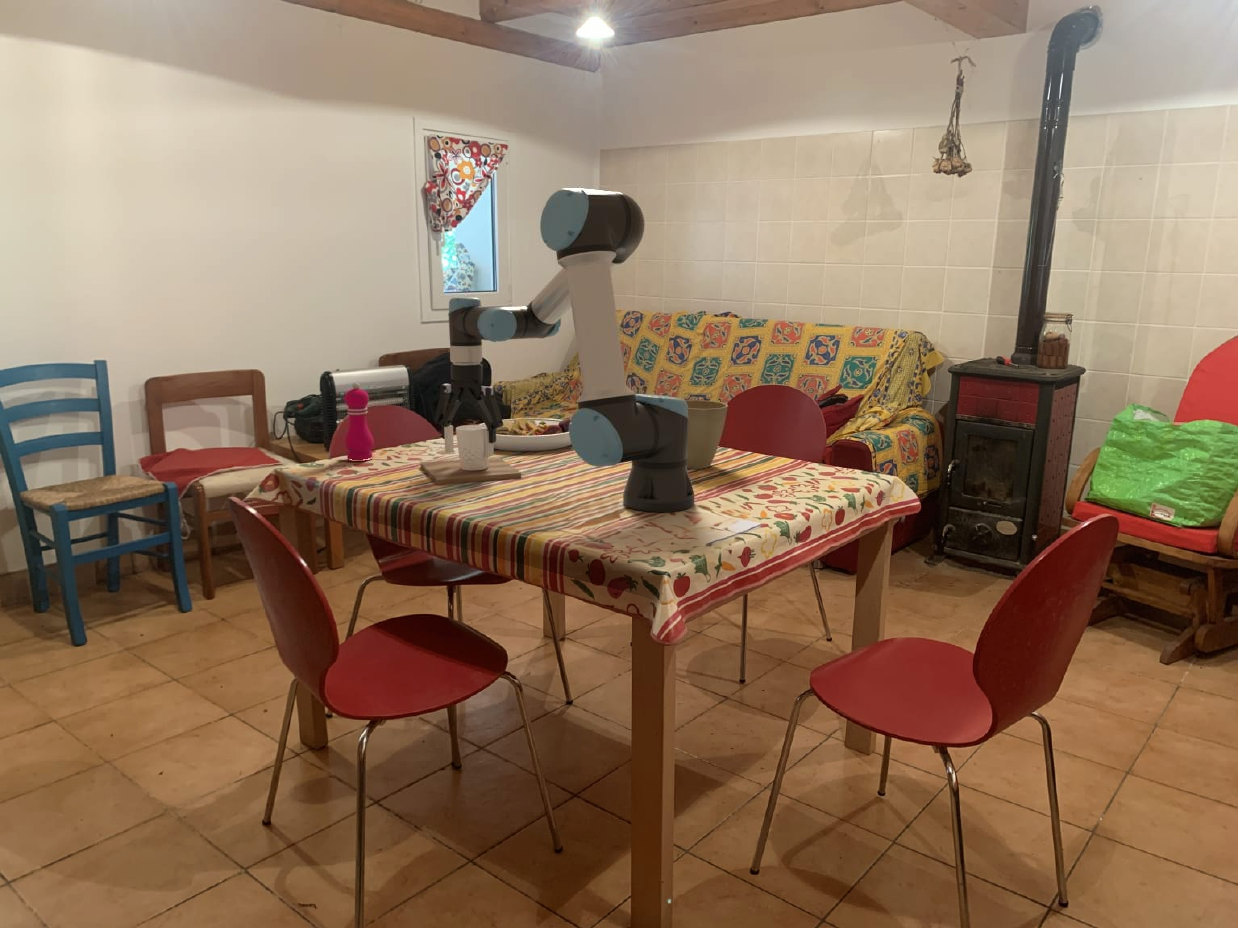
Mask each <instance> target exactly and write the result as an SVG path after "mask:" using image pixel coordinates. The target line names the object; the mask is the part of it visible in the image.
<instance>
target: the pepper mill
mask: <svg viewBox="0 0 1238 928" xmlns="http://www.w3.org/2000/svg"><path fill="white" fill-rule="evenodd" d="M351 386H352V387H351V388H352V389H349V390H347V392H346V393H345V395H344V403H345V405H346V406H347V407H348V408H346V409H347V414H348V416H349V423H348V430H347V432H346V435H345V437H344V438H345V439H344V447H345V448H346V449H347V450H348V453H346V454H347V455H346V456H347V458H348V459H352V460H363V459H368V458H371V457H372V458H373V452H372V451H371V449H373V447H374V445H375V444H374V437H373V435H372V432H371V431H370V428H369V426H368V424H367V414H368V413H369V411H368V407H367V406H368V404H369V402H370V397H369V393H368V392H366V390H364V389H361V388H360V386H361V385H360V384H359V383H358V382H354V383H353V384H352V385H351ZM348 459H347V460H348Z"/></svg>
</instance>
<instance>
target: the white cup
mask: <svg viewBox="0 0 1238 928" xmlns="http://www.w3.org/2000/svg"><path fill="white" fill-rule="evenodd" d="M486 429H488V428H487V427H486V425H479V424H467V425H460V426H457V427H455V435H456V444H457V451H458V458H459V460H460V467H461V469H462V470H468V471H476V470H483V469H487V468H488V467H489V458H490V457H485V430H486Z"/></svg>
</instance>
